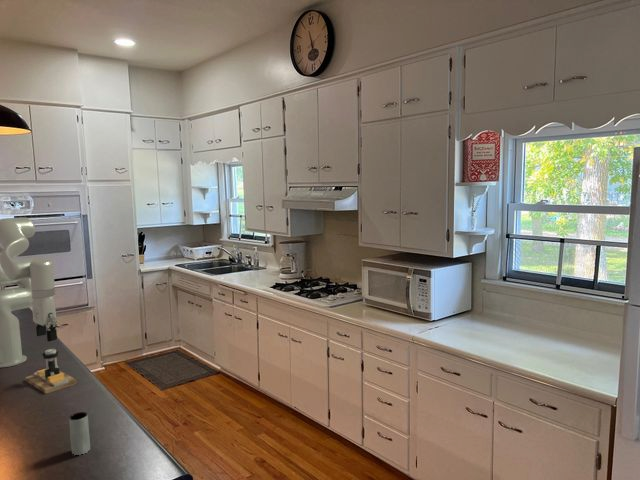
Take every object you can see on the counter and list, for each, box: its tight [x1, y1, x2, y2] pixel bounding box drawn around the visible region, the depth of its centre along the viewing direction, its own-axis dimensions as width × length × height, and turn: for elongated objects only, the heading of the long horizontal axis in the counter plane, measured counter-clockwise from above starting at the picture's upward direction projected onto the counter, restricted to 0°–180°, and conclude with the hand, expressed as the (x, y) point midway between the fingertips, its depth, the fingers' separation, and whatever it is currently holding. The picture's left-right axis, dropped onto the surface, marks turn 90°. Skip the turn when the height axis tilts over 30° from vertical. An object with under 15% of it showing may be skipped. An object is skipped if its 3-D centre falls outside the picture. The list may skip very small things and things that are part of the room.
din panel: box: [24, 370, 78, 394], centre depth 178 cm, size 19×11×2 cm, turn 51°
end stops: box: [36, 367, 64, 382], centre depth 178 cm, size 12×5×2 cm, turn 51°
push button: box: [40, 348, 60, 378], centre depth 177 cm, size 7×5×10 cm
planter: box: [68, 411, 91, 456], centre depth 129 cm, size 4×4×10 cm
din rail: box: [33, 371, 69, 387], centre depth 178 cm, size 19×5×1 cm, turn 51°
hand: (46, 337), depth 176 cm, fingers open, 9 cm apart
